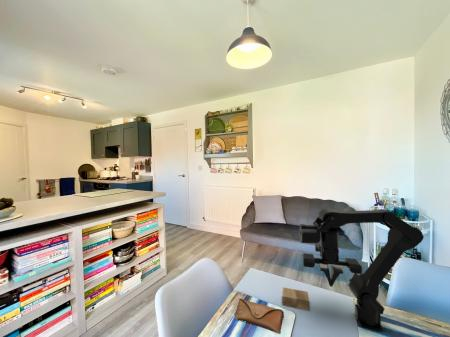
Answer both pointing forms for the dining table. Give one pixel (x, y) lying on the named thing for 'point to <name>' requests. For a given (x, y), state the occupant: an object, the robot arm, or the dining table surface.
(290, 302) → the walnut block
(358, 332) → the dining table surface
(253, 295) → the dining table surface
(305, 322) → the dining table surface
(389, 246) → the robot arm
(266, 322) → the sunglasses case
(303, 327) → the dining table surface
